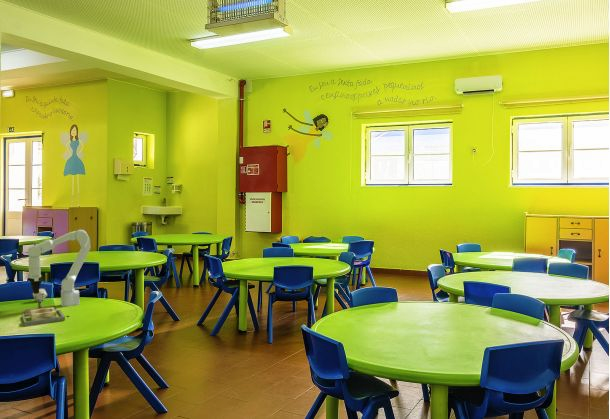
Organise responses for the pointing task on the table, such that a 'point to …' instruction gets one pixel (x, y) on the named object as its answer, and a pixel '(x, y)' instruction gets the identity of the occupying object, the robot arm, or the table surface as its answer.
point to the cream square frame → (42, 313)
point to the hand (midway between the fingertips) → (35, 292)
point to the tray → (43, 321)
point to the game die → (40, 295)
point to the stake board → (27, 311)
